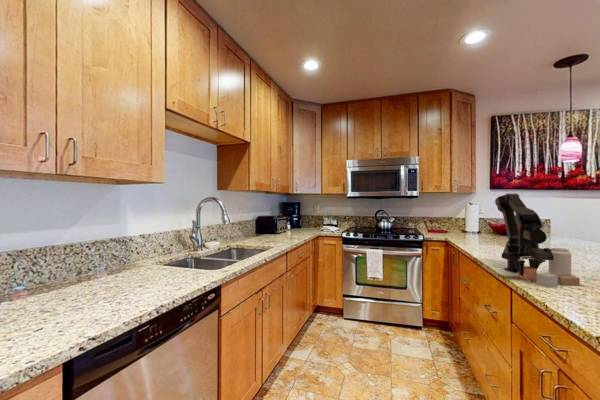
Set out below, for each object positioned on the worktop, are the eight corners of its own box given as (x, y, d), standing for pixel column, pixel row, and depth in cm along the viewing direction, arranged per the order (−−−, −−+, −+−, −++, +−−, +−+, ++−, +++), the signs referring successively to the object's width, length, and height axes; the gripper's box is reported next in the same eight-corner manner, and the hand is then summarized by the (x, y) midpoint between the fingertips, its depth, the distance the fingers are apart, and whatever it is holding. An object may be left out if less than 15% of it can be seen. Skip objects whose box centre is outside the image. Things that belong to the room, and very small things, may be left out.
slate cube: (536, 284, 113) (536, 273, 113) (545, 283, 114) (545, 272, 114) (548, 288, 109) (548, 276, 109) (557, 287, 109) (557, 275, 109)
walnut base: (546, 281, 118) (546, 273, 118) (564, 281, 118) (563, 273, 117) (561, 286, 111) (560, 277, 111) (579, 286, 111) (579, 277, 111)
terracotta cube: (518, 276, 125) (518, 266, 125) (528, 276, 125) (528, 266, 125) (526, 279, 120) (526, 268, 120) (536, 279, 120) (536, 268, 120)
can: (551, 275, 125) (551, 249, 125) (546, 271, 131) (546, 246, 131) (574, 277, 121) (574, 250, 121) (567, 273, 128) (567, 247, 128)
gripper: (519, 243, 114) (520, 281, 114) (565, 242, 114) (566, 280, 114) (500, 239, 125) (501, 273, 125) (542, 238, 125) (542, 273, 125)
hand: (527, 275), depth 122 cm, fingers closed on terracotta cube, 4 cm apart
